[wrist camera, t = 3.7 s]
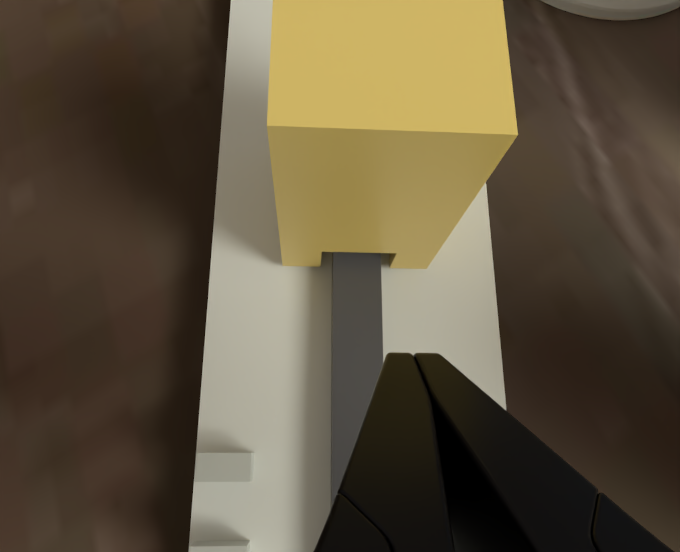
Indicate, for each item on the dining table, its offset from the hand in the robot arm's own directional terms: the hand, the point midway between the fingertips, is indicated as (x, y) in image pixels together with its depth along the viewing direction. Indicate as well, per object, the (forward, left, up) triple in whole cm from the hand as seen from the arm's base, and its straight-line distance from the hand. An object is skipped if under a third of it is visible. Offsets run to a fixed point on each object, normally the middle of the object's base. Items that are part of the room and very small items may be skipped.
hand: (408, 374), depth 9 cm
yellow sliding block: (+6, +5, -9) cm, 12 cm away
